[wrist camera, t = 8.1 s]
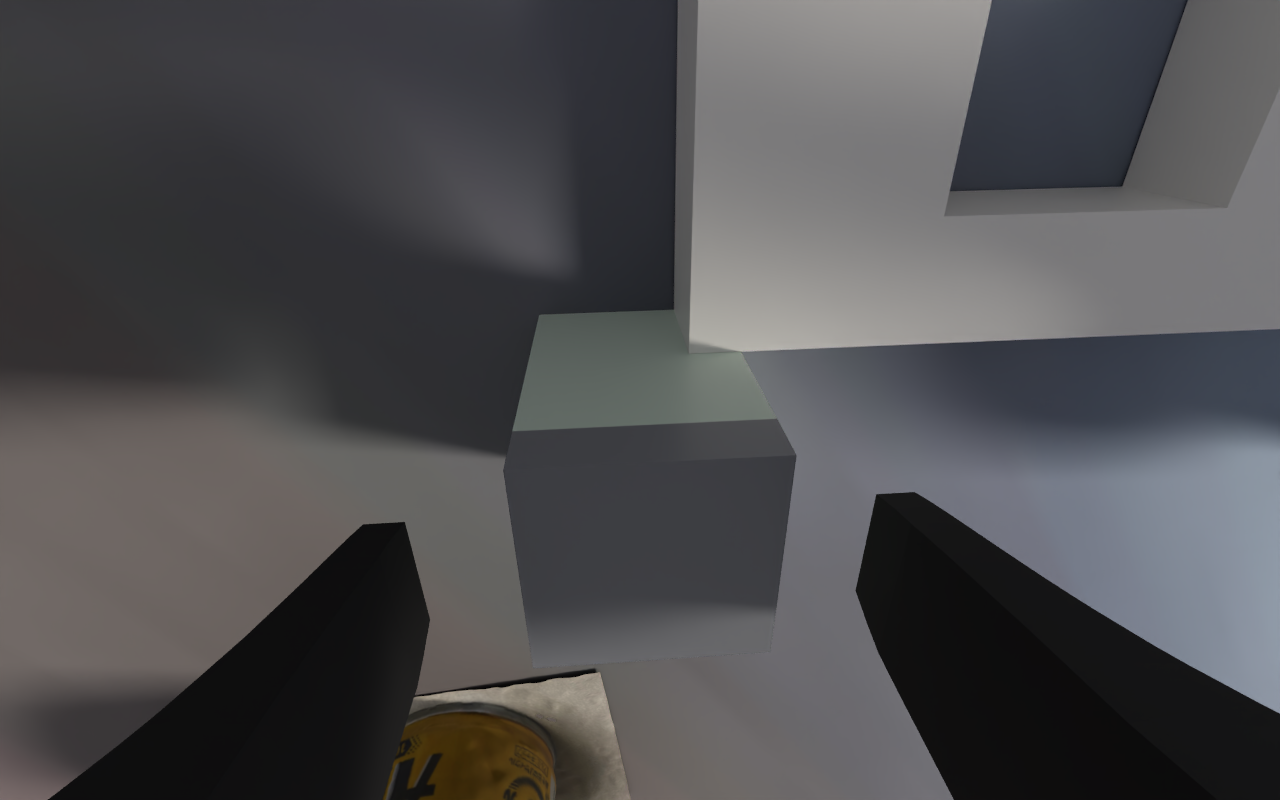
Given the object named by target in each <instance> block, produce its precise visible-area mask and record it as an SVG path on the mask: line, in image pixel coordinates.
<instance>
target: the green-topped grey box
mask: <svg viewBox="0 0 1280 800" xmlns="http://www.w3.org/2000/svg"><path fill="white" fill-rule="evenodd" d="M795 462H796V453H795V452H794V450H793V448H792V446H791V444H790V442H789V440H788V439H787V437H786V435H785V433H784V431H783V429H782V427H781V425H780V424H779V422H778V420H777V418H776V416H775V414H774V412H773V411H772V409H771V407H770V405H769V403H768V401H767V399H766V397H765V396H764V394H763V392H762V390H761V388H760V386H759V384H758V383H757V381H756V379H755V377H754V375H753V373H752V371H751V370H750V368H749V366H748V364H747V362H746V360H745V358H744V356H743V355H742V353H741V352H719V353H695V354H689V352H688V350H687V347H686V344H685V341H684V338H683V335H682V332H681V329H680V326H679V324H678V321H677V318H676V315H675V312H674V310H652V311H625V312H599V313H572V314H545V315H539V318H538V322H537V326H536V331H535V335H534V339H533V344H532V348H531V352H530V357H529V361H528V365H527V370H526V374H525V378H524V383H523V387H522V391H521V396H520V400H519V404H518V408H517V413H516V417H515V421H514V426H513V430H512V434H511V439H510V443H509V447H508V452H507V456H506V460H505V465H504V469H503V472H504V478H505V485H506V492H507V498H508V505H509V512H510V518H511V525H512V532H513V538H514V545H515V552H516V558H517V565H518V572H519V578H520V585H521V592H522V598H523V605H524V612H525V618H526V625H527V632H528V638H529V645H530V652H531V658H532V665H533V668H545V667H560V666H575V665H589V664H604V663H619V662H633V661H648V660H663V659H678V658H692V657H707V656H722V655H736V654H751V653H766V652H771V644H772V637H773V629H774V622H775V614H776V606H777V599H778V591H779V584H780V576H781V568H782V561H783V553H784V546H785V538H786V531H787V523H788V515H789V508H790V500H791V493H792V485H793V477H794V470H795Z"/></svg>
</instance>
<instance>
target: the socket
mask: <svg viewBox="0 0 1280 800" xmlns="http://www.w3.org/2000/svg"><path fill="white" fill-rule="evenodd" d="M991 2H992V0H678V28H677V106H676V185H675V263H674V312H675V315H676V318H677V321H678V324H679V326H680V329H681V332H682V335H683V338H684V341H685V344H686V347H687V350H688V352H689V354H695V353H719V352H742V351H766V350H790V349H814V348H838V347H862V346H886V345H910V344H934V343H958V342H982V341H1006V340H1030V339H1054V338H1077V337H1101V336H1125V335H1149V334H1173V333H1197V332H1221V331H1245V330H1269V329H1280V0H1188V2H1187V5H1186V7H1185V10H1184V13H1183V16H1182V19H1181V22H1180V24H1179V27H1178V30H1177V33H1176V36H1175V39H1174V41H1173V44H1172V47H1171V50H1170V53H1169V56H1168V58H1167V61H1166V64H1165V67H1164V70H1163V73H1162V76H1161V78H1160V81H1159V84H1158V87H1157V90H1156V93H1155V95H1154V98H1153V101H1152V104H1151V107H1150V110H1149V112H1148V115H1147V118H1146V121H1145V124H1144V127H1143V129H1142V132H1141V135H1140V138H1139V141H1138V144H1137V147H1136V149H1135V152H1134V155H1133V158H1132V161H1131V164H1130V166H1129V169H1128V172H1127V175H1126V178H1125V181H1124V183H1123V186H1121V187H1085V188H1049V189H1013V190H977V191H950V187H951V183H952V178H953V174H954V169H955V165H956V160H957V156H958V151H959V147H960V142H961V138H962V133H963V129H964V124H965V120H966V115H967V111H968V106H969V102H970V97H971V93H972V88H973V84H974V79H975V75H976V70H977V65H978V61H979V56H980V52H981V47H982V43H983V38H984V34H985V29H986V25H987V20H988V16H989V11H990V7H991Z"/></svg>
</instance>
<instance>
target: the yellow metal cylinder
mask: <svg viewBox="0 0 1280 800" xmlns="http://www.w3.org/2000/svg"><path fill="white" fill-rule="evenodd" d="M536 714H540V715H542V716H543V718H541V719H540V718H538V717H536ZM548 717H550V718H554V719H555V720H556V722H552V721H549V720H547V719H546V718H548ZM382 800H631V799H630V794H629V791H628V784H627V780H626V776H625V772H624V767H623V764H622V758H621V754H620V751H619V746H618V742H617V738H616V734H615V728H614V725H613V722H612V718H611V714H610V711H609V706H608V701H607V697H606V694H605V691H604V687H603V683H602V679H601V674H600V672H598V673H593V674H585V675H581V676H578V677H572V678H555V679H550V680H547V681H544V682H541V683H526V684H518V685H512V686H509V687H504V688H499V687H494V688H489V689H478V690H464V691H454V692H445V693H442V694H435V695H430V696H418V697H414V699H413V703H412V706H411V709H410V712H409V715H408V719H407V722H406V725H405V728H404V732H403V735H402V738H401V741H400V744H399V748H398V751H397V754H396V757H395V760H394V763H393V766H392V769H391V773H390V776H389V779H388V782H387V785H386V788H385V791H384V795H383V798H382Z"/></svg>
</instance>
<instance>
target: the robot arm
mask: <svg viewBox="0 0 1280 800" xmlns="http://www.w3.org/2000/svg"><path fill="white" fill-rule="evenodd" d="M856 593H857V596H858V599H859V601H860V604H861V607H862V610H863V613H864V616H865V619H866V621H867V624H868V627H869V629H870V632H871V635H872V637H873V640H874V642H875V645H876V648H877V650H878V653H879V655H880V657H881V659H882V661H883V663H884V665H885V667H886V669H887V671H888V673H889V675H890V677H891V679H892V681H893V683H894V685H895V687H896V689H897V691H898V693H899V694H900V696H901V698H902V700H903V702H904V704H905V706H906V708H907V710H908V712H909V714H910V716H911V718H912V720H913V722H914V724H915V726H916V727H917V729H918V731H919V733H920V735H921V737H922V739H923V741H924V743H925V745H926V747H927V749H928V751H929V753H930V754H931V756H932V758H933V760H934V762H935V764H936V766H937V768H938V770H939V772H940V774H941V776H942V778H943V780H944V781H945V783H946V785H947V787H948V789H949V791H950V793H951V795H952V797H953V799H954V800H1280V714H1279V713H1277V712H1275V711H1273V710H1271V709H1270V708H1268V707H1266V706H1264V705H1262V704H1260V703H1258V702H1256V701H1254V700H1252V699H1251V698H1249V697H1247V696H1245V695H1243V694H1241V693H1239V692H1237V691H1236V690H1234V689H1232V688H1230V687H1228V686H1226V685H1224V684H1223V683H1221V682H1219V681H1217V680H1215V679H1213V678H1211V677H1210V676H1208V675H1206V674H1204V673H1202V672H1200V671H1198V670H1197V669H1195V668H1193V667H1191V666H1189V665H1187V664H1185V663H1184V662H1182V661H1180V660H1178V659H1177V658H1175V657H1173V656H1171V655H1170V654H1168V653H1166V652H1164V651H1163V650H1161V649H1159V648H1157V647H1156V646H1154V645H1152V644H1150V643H1149V642H1147V641H1145V640H1144V639H1142V638H1140V637H1139V636H1137V635H1135V634H1134V633H1132V632H1130V631H1129V630H1127V629H1126V628H1124V627H1122V626H1121V625H1119V624H1117V623H1116V622H1114V621H1112V620H1111V619H1109V618H1107V617H1106V616H1104V615H1102V614H1101V613H1099V612H1097V611H1096V610H1094V609H1092V608H1091V607H1089V606H1088V605H1086V604H1085V603H1083V602H1081V601H1080V600H1078V599H1077V598H1075V597H1073V596H1072V595H1070V594H1069V593H1067V592H1066V591H1064V590H1062V589H1061V588H1059V587H1058V586H1056V585H1055V584H1053V583H1052V582H1050V581H1049V580H1047V579H1045V578H1044V577H1042V576H1041V575H1039V574H1038V573H1036V572H1035V571H1033V570H1032V569H1030V568H1029V567H1027V566H1026V565H1024V564H1023V563H1021V562H1020V561H1018V560H1017V559H1015V558H1014V557H1012V556H1011V555H1009V554H1008V553H1006V552H1005V551H1003V550H1002V549H1000V548H999V547H997V546H996V545H994V544H993V543H991V542H990V541H988V540H987V539H986V538H984V537H983V536H981V535H980V534H978V533H977V532H975V531H974V530H972V529H971V528H969V527H968V526H966V525H965V524H963V523H962V522H960V521H959V520H957V519H956V518H954V517H953V516H951V515H950V514H948V513H947V512H945V511H944V510H942V509H941V508H939V507H938V506H936V505H935V504H933V503H932V502H930V501H928V500H927V499H925V498H923V497H922V496H920V495H918V494H917V493H915V492H909V493H892V494H876V499H875V503H874V508H873V513H872V517H871V522H870V526H869V531H868V536H867V540H866V545H865V550H864V554H863V559H862V564H861V568H860V573H859V577H858V582H857V587H856ZM429 622H430V618H429V614H428V610H427V606H426V602H425V599H424V595H423V591H422V587H421V583H420V579H419V575H418V572H417V568H416V564H415V560H414V556H413V552H412V548H411V544H410V541H409V537H408V533H407V529H406V525H405V522H398V523H381V524H364V525H362V526H361V527H360V528H359V529H358V530H357V531H355V532H354V533H353V534H352V535H351V536H350V537H349V538H348V539H347V540H346V541H345V542H344V543H343V544H342V545H341V546H340V547H339V548H337V549H336V550H335V551H334V552H333V553H332V554H331V555H330V556H329V557H328V558H327V559H326V560H325V561H324V562H323V563H322V564H321V565H320V566H319V567H318V568H317V569H316V570H315V571H314V572H313V573H312V574H311V575H310V576H309V577H308V578H307V579H306V580H305V581H304V582H303V583H301V584H300V585H299V586H298V587H297V588H296V589H295V590H294V591H293V592H292V593H291V594H290V595H289V596H288V597H287V598H286V599H285V600H284V601H283V602H282V603H280V604H279V605H278V606H277V607H276V608H275V609H274V610H273V611H272V612H271V613H270V614H269V615H268V616H267V617H266V618H265V619H264V620H262V621H261V622H260V623H259V624H258V625H257V626H256V627H255V628H254V629H253V630H252V631H251V632H250V633H249V634H248V635H247V636H245V637H244V638H243V639H242V640H241V641H240V642H239V643H238V644H236V645H235V646H234V647H233V648H232V649H231V650H230V651H228V652H227V653H226V654H225V655H224V656H223V657H222V658H221V659H219V660H218V661H217V662H216V663H215V664H214V665H213V666H211V667H210V668H209V669H208V670H207V671H206V672H205V673H203V674H202V675H201V676H200V677H199V678H198V679H197V680H195V681H194V682H193V683H192V684H191V685H190V686H189V687H187V688H186V689H185V690H184V691H183V692H182V693H181V694H179V695H178V696H177V697H176V698H175V699H174V700H173V701H172V702H170V703H169V704H168V705H167V706H166V707H165V708H163V709H162V710H161V711H160V712H159V713H157V714H156V715H155V716H154V717H153V718H151V719H150V720H149V721H148V722H147V723H145V724H144V725H143V726H142V727H140V728H139V729H138V730H137V731H135V732H134V733H133V734H132V735H131V736H129V737H128V738H127V739H126V740H124V741H123V742H122V743H121V744H119V745H118V746H117V747H116V748H114V749H113V750H112V751H111V752H109V753H108V754H107V755H105V756H104V757H103V758H101V759H100V760H99V761H98V762H96V763H95V764H94V765H92V766H91V767H90V768H89V769H87V770H86V771H85V772H83V773H82V774H81V775H80V776H78V777H77V778H76V779H74V780H73V781H72V782H70V783H69V784H68V785H67V786H65V787H64V788H63V789H61V790H60V791H59V792H58V793H56V794H55V795H54V796H52V797H51V798H50V799H48V800H382V798H383V795H384V791H385V788H386V785H387V782H388V779H389V776H390V773H391V769H392V766H393V763H394V760H395V757H396V754H397V751H398V748H399V744H400V741H401V738H402V735H403V732H404V728H405V725H406V722H407V719H408V715H409V712H410V709H411V706H412V703H413V699H414V696H415V693H416V689H417V686H418V681H419V676H420V671H421V666H422V661H423V656H424V650H425V645H426V639H427V633H428V628H429Z"/></svg>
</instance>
